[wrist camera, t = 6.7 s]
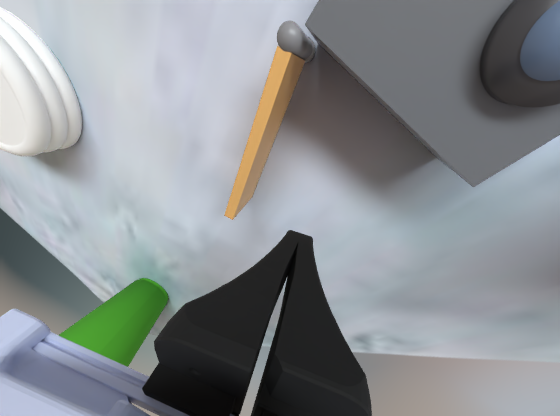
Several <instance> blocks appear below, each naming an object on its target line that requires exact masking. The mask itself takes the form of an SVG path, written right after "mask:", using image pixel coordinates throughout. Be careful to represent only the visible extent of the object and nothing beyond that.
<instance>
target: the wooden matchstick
mask: <svg viewBox="0 0 560 416" xmlns="http://www.w3.org/2000/svg"><path fill="white" fill-rule="evenodd" d="M277 42H278V45H279V46H277V49H276V52H275V55H274V59H273V62H272V65H271V68H270V71H269V75H268V78H267V81H266V84H265V87H264V91H263V94H262V97H261V100H260V103H259V107H258V110H257V113H256V116H255V119H254V123H253V126H252V129H251V132H250V135H249V138H248V142H247V145H246V148H245V151H244V154H243V158H242V161H241V164H240V167H239V170H238V174H237V177H236V180H235V183H234V186H233V190H232V193H231V196H230V199H229V202H228V205H227V209H226V212H225V215H224V216H226V217H228V218H230V219H232V220H233V219H234V218H235V217H236V216H237V214H238V213H239V212H240V211H241V210H242V208H243V207H244V206H245V205H246V204H247V202H248V201H249V200H250V199H251V198H252V196H253V194H254V191H255V188H256V186H257V183H258V181H259V178H260V176H261V173H262V171H263V168H264V166H265V163H266V160H267V158H268V155H269V153H270V150H271V148H272V145H273V143H274V140H275V137H276V135H277V132H278V130H279V127H280V125H281V122H282V120H283V117H284V114H285V112H286V109H287V107H288V104H289V102H290V99H291V97H292V94H293V91H294V89H295V86H296V84H297V81H298V79H299V76H300V74H301V71H302V68H303V66H304V63H305V60H306V59H308V58H309V57H310V55H311V54H312V50H313V45H312V42H311V41H310V39H309V38H308V37H307V36H306V35H305V33H304V32H303V31H302V30H301V29H300V27H299V26H298V25H297V24H296V23H295V22H293V21H286V22H284V23H283V24H282V25H281V26H280V28H279V30H278V33H277Z"/></svg>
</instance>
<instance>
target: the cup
mask: <svg viewBox="0 0 560 416" xmlns="http://www.w3.org/2000/svg"><path fill="white" fill-rule="evenodd" d="M167 300H168V294H167V293H166V291H165V290H164V289H163V288H162V287H161V286H160V285H159V284H157V283H156V282H154V281H152V280H150V279H146V278H141V279H139V280H136V281H134V282H133V283H132V284H130V285H129V286H127V287H126V288H125V289H123V290H122V291H120V292H119V293H117V294H116V295H115V296H113V297H112V298H110V299H109V300H108V301H106V302H105V303H103V304H102V305H100V306H99V307H98V308H96V309H95V310H93V311H92V312H91V313H89V314H88V315H86V316H85V317H84V318H82V319H81V320H79V321H78V322H76V323H75V324H74V325H72V326H71V327H69V328H68V329H67V330H65V331H64V332H62V333H61V334H60V335H58V336H61V337H63V338H65V339H67V340H69V341H72V342H74V343H76V344H78V345H80V346H83V347H85V348H87V349H89V350H91V351H94V352H96V353H98V354H100V355H102V356H105V357H107V358H109V359H111V360H113V361H116V362H118V363H120V364H122V365H124V366H127V367H128V366H129V364H130V363H131V361H132V359H133V358H134V356H135V354H136V353H137V351H138V350H139V348H140V346H141V345H142V343H143V341H144V340H145V338H146V337H147V335H148V333H149V332H150V330H151V328H152V327H153V325H154V324H155V322H156V320H157V319H158V317H159V315H160V314H161V312H162V311H163V309H164V307H165V306H166V304H167Z"/></svg>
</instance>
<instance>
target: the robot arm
mask: <svg viewBox="0 0 560 416" xmlns="http://www.w3.org/2000/svg"><path fill="white" fill-rule="evenodd" d="M287 276H288V277H287ZM286 278H287V282H286V287H285V292H284V297H283V302H282V307H281V312H280V317H279V321H278V324H277V328H276V331H275V335H274V338H273V342H272V345H271V348H270V352H269V355H268V359H267V362H266V366H265V369H264V372H263V376H262V379H261V383H260V386H259V390H258V393H257V396H256V400H255V403H254V407H253V410H252V413H251V416H372V411H371V400H370V394H369V389H368V384H367V379H366V375H365V373H364V372H363V370H362V368H361V367H360V365H359V363H358V362H357V360H356V358H355V357H354V355H353V353H352V352H351V350H350V348H349V346H348V344H347V342H346V341H345V339H344V337H343V335H342V333H341V331H340V329H339V327H338V325H337V323H336V321H335V318H334V316H333V314H332V312H331V310H330V307H329V305H328V302H327V300H326V297H325V294H324V292H323V289H322V285H321V282H320V279H319V275H318V271H317V267H316V262H315V257H314V251H313V238H312V237H311V236H307V235H304V234H301V233H298V232H295V231H292V230H289V231H288V232H287V233H286V235H285V236H284V237H283V239H282V240H281V241H280V242H279V243H278V244H277V245H276V246H275V247H274V248H273V249H272V250H271V251H270V252H269V253H268V254H267V255H266V256H265V257H264V258H263V259H261V260H260V261H259V262H258V263H257V264H255V265H254V266H253V267H251V268H250V269H249V270H247V271H246V272H244V273H243V274H241V275H240V276H238V277H237V278H235V279H234V280H232V281H230V282H229V283H227V284H225V285H223V286H221V287H220V288H218V289H216V290H214V291H212V292H210V293H208V294H206V295H204V296H202V297H199V298H197V299H195V300H193V301H190V302H188V303H186V304H185V305H184V306H183V307H182V308H181V309H180V310H179V311H178V312H177V313H176V314H175V315H174V316H173V317H172V318H171V319H170V320H169V322H168V323H167V324H166V326H165V327H164V328H163V330H162V331H161V333H160V334H159V335H158V337H157V338H156V340H155V341H154V346H155V351H156V354H157V357H158V360H159V364H158V365H157V367H156V368H155V370H154V371H153V373H152V374H151V376H150V377H149V376H146V375H144V374H142V373H140V372H138V371H135V370H133V369H131V368H129V367H127V366H124V365H122V364H120V363H118V362H116V361H113V360H111V359H109V358H107V357H105V356H102V355H100V354H98V353H96V352H94V351H91V350H89V349H87V348H85V347H83V346H80V345H78V344H76V343H74V342H72V341H69V340H67V339H65V338H63V337H61V336H58V335H56V334H54V333H52V332H50V329H49V327H48V326H47V325H46V324H45V323H44V322H42V321H41V320H39V319H37V318H36V317H33V316H31V315H29V314H27V313H24V312H22V311H20V310H18V309H11V310H10V311H8V312H7V313H5V314H4V315H2V316H1V317H0V416H150V415H148V414H147V413H145V412H143V411H142V410H140V409H139V408H137V407H135V406H134V405H132V403H134V404H136V405H138V406H140V407H142V408H144V409H147V410H149V411H151V412H153V413H155V414H157V415H159V416H239V414H240V412H241V409H242V406H243V402H244V399H245V396H246V393H247V390H248V387H249V384H250V380H251V377H252V374H253V371H254V368H255V364H256V361H257V358H258V355H259V352H260V349H261V346H262V343H263V339H264V336H265V333H266V330H267V327H268V324H269V321H270V318H271V315H272V312H273V310H274V307H275V305H276V302H277V300H278V298H279V295H280V293H281V290H282V288H283V286H284V283H285V281H286ZM131 402H132V403H131Z"/></svg>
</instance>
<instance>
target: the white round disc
mask: <svg viewBox="0 0 560 416" xmlns="http://www.w3.org/2000/svg"><path fill="white" fill-rule="evenodd" d="M81 130H82V115H81V109H80V105H79V102H78V98H77V95H76V93H75V90H74V88H73V86H72V83H71V81H70V79H69V77H68V76H67V74H66V72H65V70H64V68H63V67H62V65H61V64H60V62H59V60H58V59H57V58H56V56H55V55H54V53H53V52H52V51H51V49H50V48H49V47H48V46H47V45H46V43H45V42H44V41H43V40H42V39H41V38H40V37H39V36H38V35H37V33H36V32H35V31H34V30H32V29H31V28H30V27H29V26H28V25H27V24H26V23H25V22H23V21H22V20H21V19H20V18H18V17H17V16H16V15H14V14H12V13H11V12H9V11H7V10H5V9H3V8H1V7H0V149H2V150H4V151H6V152H9V153H12V154H15V155H19V156H35V155H38V154H40V153H41V152H52V151H55V150H57V149H65V148H68V147H70V146H72V145H74V144H75V143H76V142H77V141H78V139H79V138H80V135H81Z"/></svg>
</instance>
